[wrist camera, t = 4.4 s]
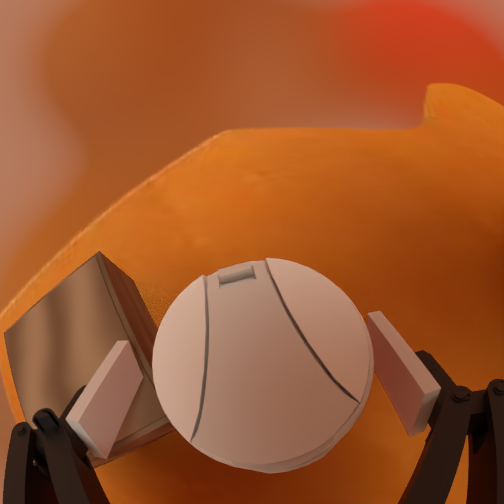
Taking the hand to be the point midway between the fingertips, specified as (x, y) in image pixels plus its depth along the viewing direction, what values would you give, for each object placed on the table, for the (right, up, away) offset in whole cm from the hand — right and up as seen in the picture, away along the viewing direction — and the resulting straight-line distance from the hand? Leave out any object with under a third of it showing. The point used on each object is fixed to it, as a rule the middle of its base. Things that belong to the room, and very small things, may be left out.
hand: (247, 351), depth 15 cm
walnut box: (-13, -6, +7) cm, 16 cm away
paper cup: (+2, -5, +6) cm, 8 cm away
